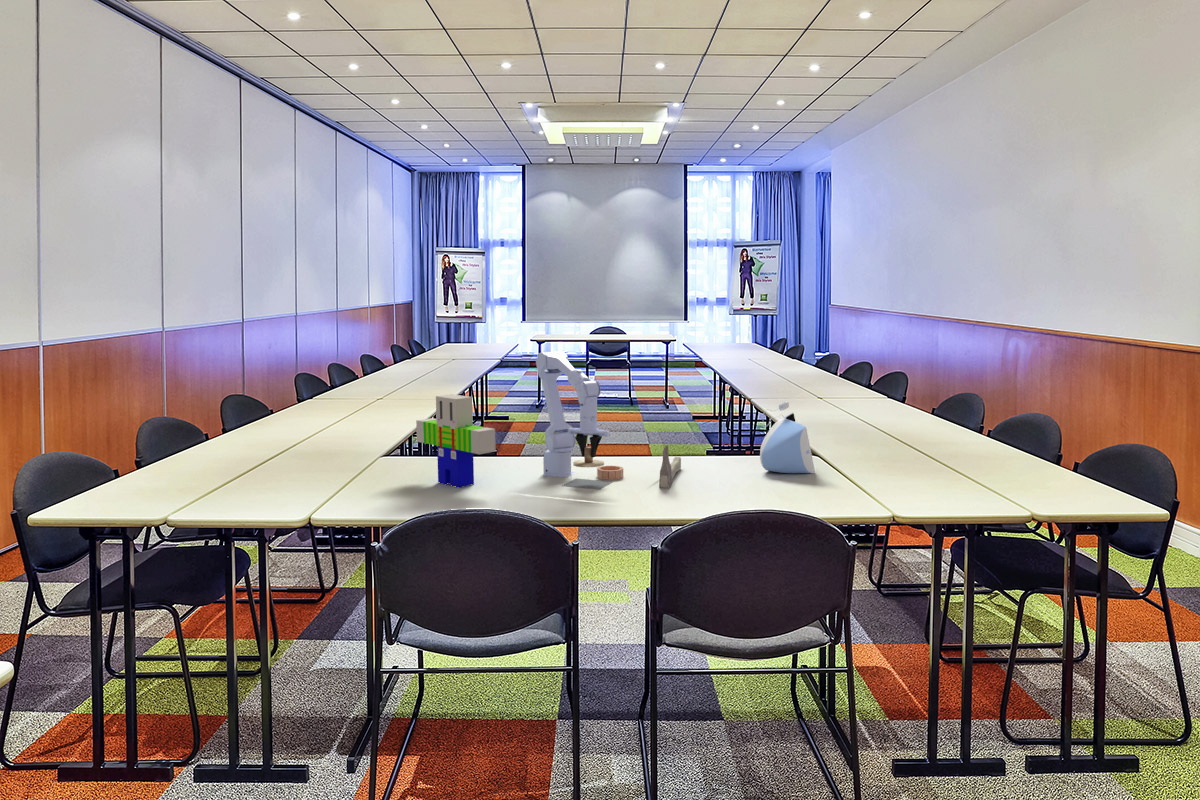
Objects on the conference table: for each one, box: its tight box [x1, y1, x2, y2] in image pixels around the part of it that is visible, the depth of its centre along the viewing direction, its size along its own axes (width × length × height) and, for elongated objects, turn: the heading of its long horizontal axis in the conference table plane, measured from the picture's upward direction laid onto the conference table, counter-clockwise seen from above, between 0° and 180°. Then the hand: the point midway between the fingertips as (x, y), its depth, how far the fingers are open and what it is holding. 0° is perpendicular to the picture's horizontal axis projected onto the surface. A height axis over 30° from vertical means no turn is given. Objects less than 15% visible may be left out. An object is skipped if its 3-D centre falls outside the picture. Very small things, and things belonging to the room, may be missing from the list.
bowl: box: [596, 465, 624, 481], centre depth 315 cm, size 9×9×4 cm
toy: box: [415, 393, 496, 488], centre depth 306 cm, size 34×7×30 cm, turn 47°
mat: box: [561, 478, 614, 490], centre depth 305 cm, size 14×12×1 cm
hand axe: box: [658, 444, 682, 489], centre depth 315 cm, size 35×3×14 cm, turn 167°
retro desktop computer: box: [759, 400, 816, 474], centre depth 326 cm, size 25×23×17 cm
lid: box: [572, 446, 605, 468], centre depth 304 cm, size 10×10×6 cm
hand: (588, 456), depth 304 cm, fingers closed on lid, 3 cm apart
